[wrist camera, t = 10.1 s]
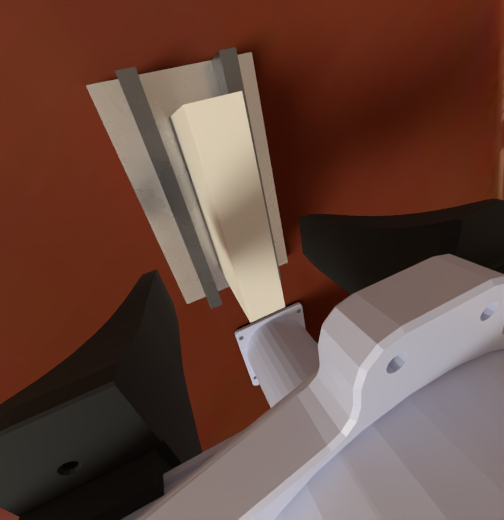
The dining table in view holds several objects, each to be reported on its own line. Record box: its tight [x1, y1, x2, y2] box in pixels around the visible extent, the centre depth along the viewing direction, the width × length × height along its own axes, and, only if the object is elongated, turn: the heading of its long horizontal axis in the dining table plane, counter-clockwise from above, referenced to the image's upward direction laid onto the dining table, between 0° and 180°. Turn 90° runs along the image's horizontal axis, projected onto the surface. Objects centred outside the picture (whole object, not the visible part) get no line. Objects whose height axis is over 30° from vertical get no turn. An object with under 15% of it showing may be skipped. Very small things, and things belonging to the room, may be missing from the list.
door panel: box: [169, 91, 285, 323], centre depth 16 cm, size 12×2×7 cm, turn 13°
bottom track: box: [86, 47, 288, 309], centre depth 18 cm, size 16×10×3 cm, turn 13°
